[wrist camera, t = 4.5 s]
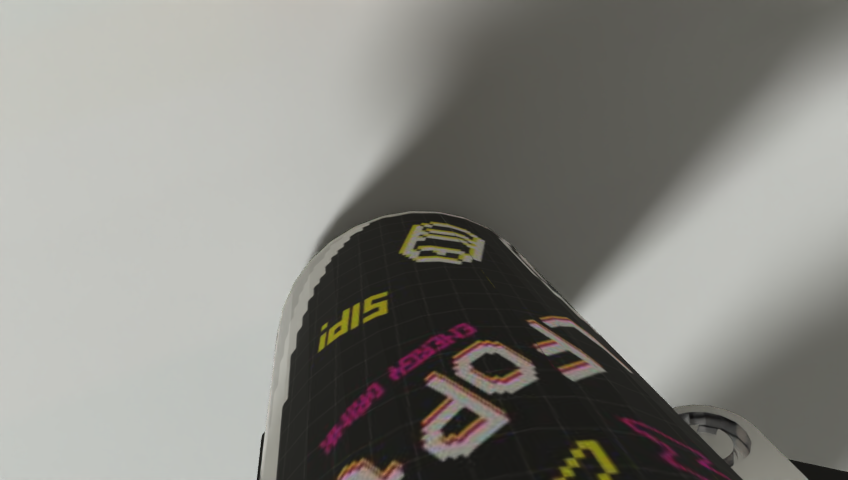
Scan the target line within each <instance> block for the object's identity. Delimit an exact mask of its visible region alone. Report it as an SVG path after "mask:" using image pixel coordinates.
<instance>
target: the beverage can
mask: <svg viewBox="0 0 848 480" xmlns="http://www.w3.org/2000/svg"><path fill="white" fill-rule="evenodd" d="M259 480H743V479H742V478H741V477H740V476H739V475H738V474H737V473H736V472H735V471H734V470H733V469H732V468H731V467H730V466H729V465H728V464H727V463H726V462H725V461H724V460H723V459H722V458H721V457H720V456H719V455H718V454H717V453H716V452H715V451H714V450H713V449H712V448H711V447H710V446H709V445H708V444H707V443H706V442H705V441H704V440H703V439H702V438H701V437H700V436H699V435H698V434H697V433H696V432H695V431H694V430H693V429H692V428H691V427H690V426H689V425H688V424H687V423H686V422H685V421H684V420H683V419H682V417H681V416H680V415H679V414H678V413H677V412H676V411H675V410H674V409H673V408H672V407H671V406H670V405H669V404H668V403H667V402H666V401H665V400H664V399H663V398H662V397H661V396H660V395H659V394H658V393H657V392H656V391H655V390H654V389H653V388H652V387H651V386H650V385H649V384H648V383H647V382H646V381H645V380H644V379H643V378H642V377H641V376H640V375H639V374H638V373H637V372H636V371H635V370H634V369H633V368H632V367H631V366H630V365H629V364H628V363H627V362H626V361H625V360H624V359H623V358H622V357H621V356H620V355H619V354H618V353H617V352H616V351H615V350H614V349H613V348H612V347H611V346H610V345H609V344H608V343H607V342H606V340H605V339H604V338H603V337H602V336H601V335H600V334H599V333H598V332H597V331H596V330H595V329H594V328H593V327H592V326H591V325H590V324H589V323H588V322H587V321H586V320H585V319H584V318H583V317H582V316H581V315H580V314H579V313H578V312H577V311H576V310H575V309H574V308H573V307H572V306H571V305H570V304H569V303H568V302H567V301H566V300H565V299H564V298H563V297H562V296H561V295H560V294H559V293H558V292H557V291H556V290H555V289H554V288H553V287H552V286H551V285H550V284H549V283H548V282H547V281H546V280H545V279H544V278H543V277H542V276H541V275H540V274H539V273H538V272H537V271H536V270H535V269H534V268H533V267H532V266H531V265H530V263H529V262H528V261H527V260H526V259H525V258H524V257H523V256H522V255H521V254H520V253H519V252H518V251H517V250H516V249H515V248H514V247H513V246H512V245H511V244H510V243H508V242H507V241H506V240H504V239H503V238H501V237H500V236H499V235H497V234H496V233H495V232H493V231H492V230H490V229H489V228H487V227H485V226H482V225H480V224H478V223H475V222H473V221H471V220H469V219H466V218H464V217H460V216H455V215H451V214H446V213H441V212H426V211H408V212H403V213H397V214H391V215H386V216H381V217H379V218H376V219H373V220H371V221H368V222H365V223H363V224H360V225H357V226H355V227H353V228H352V229H350V230H349V231H347V232H345V233H344V234H342V235H340V236H339V237H337V238H336V239H334V240H332V241H331V242H330V243H329V244H328V245H326V246H325V247H324V248H323V249H322V250H321V251H320V252H319V253H318V254H317V255H316V256H314V257H313V258H312V259H311V260H310V262H309V263H308V264H307V266H306V267H305V268H304V270H303V271H302V273H301V274H300V275H299V277H298V278H297V279H296V281H295V282H294V284H293V286H292V289H291V291H290V293H289V295H288V297H287V300H286V302H285V304H284V306H283V309H282V313H281V318H280V323H279V327H278V332H277V339H276V347H275V355H274V363H273V371H272V380H271V388H270V396H269V404H268V412H267V420H266V429H265V437H264V445H263V453H262V461H261V469H260V478H259Z"/></svg>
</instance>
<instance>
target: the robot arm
mask: <svg viewBox="0 0 848 480" xmlns="http://www.w3.org/2000/svg"><path fill="white" fill-rule="evenodd" d="M673 409H674V410H675V411H676V412H677V413H678V414H679V415H680V416H681V417H682V419H683V420H684V421H685V422H686V423H687V424H688V425H689V426H690V427H691V428H692V429H693V430H694V431H695V432H696V433H697V434H698V435H699V436H700V437H701V438H702V439H703V440H704V441H705V442H706V443H707V444H708V445H709V446H710V447H711V448H712V449H713V450H714V451H715V452H716V453H717V454H718V455H719V456H720V457H721V458H722V459H723V460H724V461H725V462H726V463H727V464H728V465H729V466H730V467H731V468H732V469H733V470H734V471H735V472H736V473H737V474H738V475H739V476H740V477H741V478H742V479H743V480H848V472H845V471H840V470H835V469H831V468H826V467H821V466H817V465H812V464H807V463H803V462H798V461H793V460H789V459H787V458H786V457H785V456H784V455H783V454H782V453H781V452H780V451H779V450H778V449H777V448H776V447H775V446H774V445H773V444H772V443H771V442H770V441H769V440H768V439H767V438H766V437H765V436H764V435H763V434H762V433H761V432H760V431H759V430H758V429H757V428H756V427H755V426H754V425H753V424H751V423H750V422H749V421H747V420H746V419H745V418H743V417H742V416H740V415H737V414H735V413H733V412H731V411H728V410H725V409H721V408H717V407H713V406H704V405H687V406H680V407H675V408H673ZM264 437H265V432H264V433H263V435H262V439H261V447H260V457H259V466H258V475H257V480H259V478H260V469H261V461H262V453H263V445H264Z"/></svg>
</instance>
